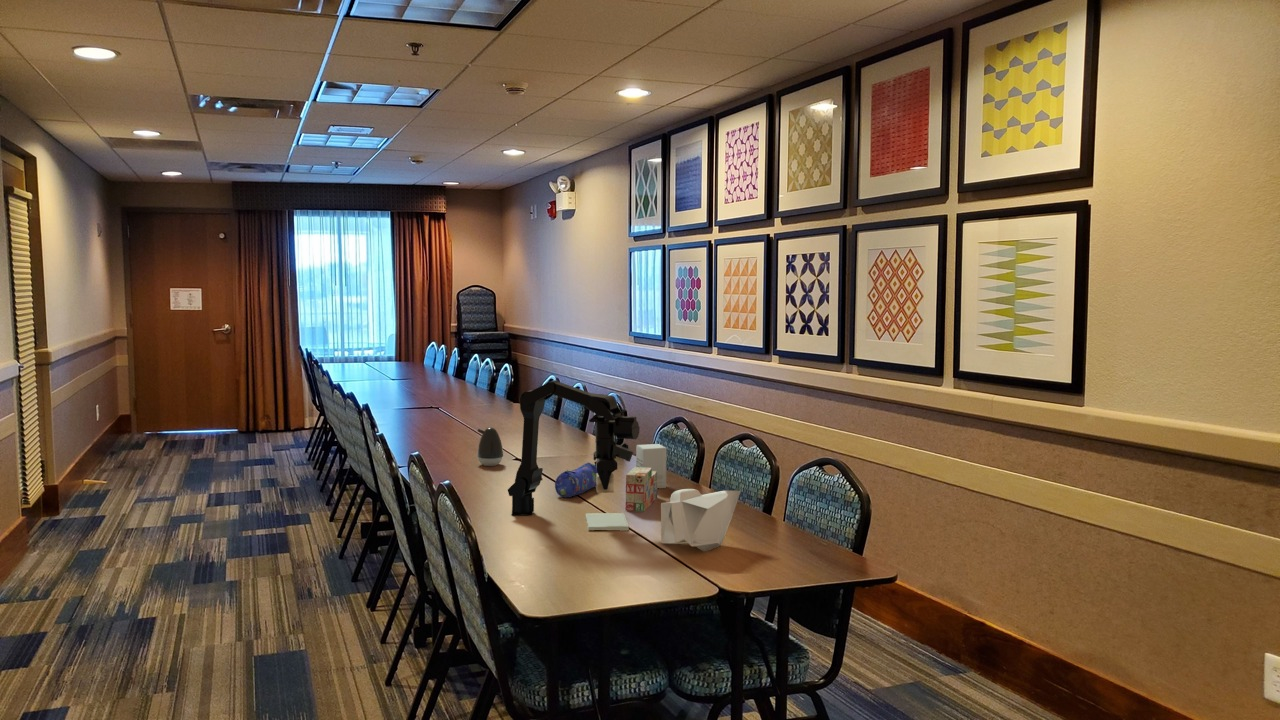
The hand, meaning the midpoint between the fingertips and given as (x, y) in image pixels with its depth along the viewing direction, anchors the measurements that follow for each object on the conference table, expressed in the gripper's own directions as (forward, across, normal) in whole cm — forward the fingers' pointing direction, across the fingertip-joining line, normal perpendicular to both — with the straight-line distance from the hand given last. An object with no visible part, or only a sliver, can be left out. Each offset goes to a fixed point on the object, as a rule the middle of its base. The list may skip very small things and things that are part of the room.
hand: (605, 487), depth 282 cm
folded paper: (+12, -26, -27) cm, 39 cm away
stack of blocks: (+12, +25, -14) cm, 31 cm away
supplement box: (+11, +51, -20) cm, 56 cm away
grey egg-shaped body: (+10, +92, +40) cm, 101 cm away
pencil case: (+11, +43, +6) cm, 45 cm away
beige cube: (+1, 0, 0) cm, 1 cm away
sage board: (+11, 0, 0) cm, 11 cm away
